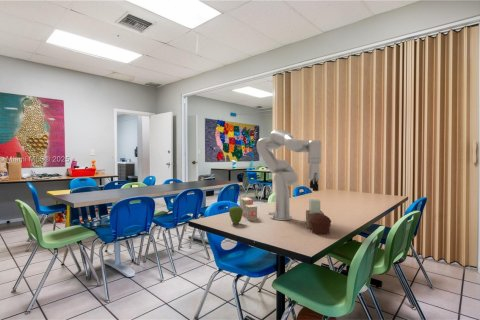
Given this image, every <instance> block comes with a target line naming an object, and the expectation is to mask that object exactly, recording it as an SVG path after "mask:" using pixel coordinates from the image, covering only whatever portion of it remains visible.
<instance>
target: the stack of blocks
mask: <svg viewBox="0 0 480 320" xmlns="http://www.w3.org/2000/svg"><path fill="white" fill-rule="evenodd" d="M239 207H241V208H242V210H243V214H242V218H245V220H247V221H257V220H258V206H257V205H255V204H254V200H253V199H252V198H250V197H247V196H246V197H244V196H243V197H239Z"/></svg>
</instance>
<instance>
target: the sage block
mask: <svg viewBox="0 0 480 320" xmlns="http://www.w3.org/2000/svg"><path fill="white" fill-rule="evenodd" d="M308 203H309V204H308V207H309V209H308V210H309V211H310V212H311V213H320V210H321V200H319V199H308Z"/></svg>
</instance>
